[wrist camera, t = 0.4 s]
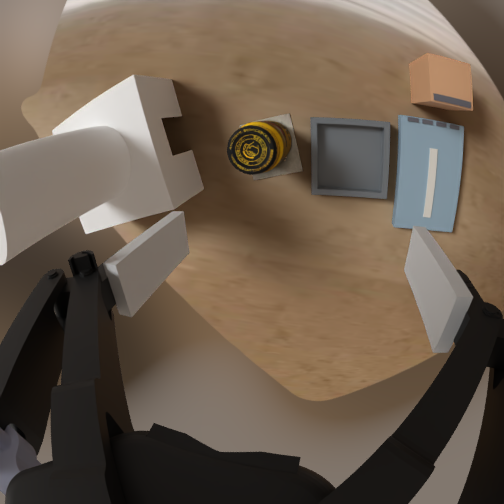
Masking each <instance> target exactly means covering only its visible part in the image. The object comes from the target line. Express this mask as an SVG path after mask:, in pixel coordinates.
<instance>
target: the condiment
mask: <svg viewBox="0 0 504 504" xmlns="http://www.w3.org/2000/svg"><path fill="white" fill-rule="evenodd" d="M227 154H228V157H229V160H230V162H231V163H232V165H233V166H234V167H235V168H236V169H238V170H239V171H241V172H243V173H246V174H250V175H251V174H252V175H253V179H254V180H259V179H263V178H268V177H273V176H279V175H284V174H290V173H296V172H301V171H303V169H302V165H301V160H300V156H299V151H298V147H297V142H296V138H295V134H294V130H293V126H292V122H291V118H290V114H285V115H280V116H275V117H271V118H267V119H262V120H258V121H254V122H250V123H246V124H242V125H240V128H239V129H238V130H237V131H235V132H234V134H233V135H232V136H231V137H230V139H229V142H228V147H227ZM286 157H287V158H286ZM285 159H286V161H284V160H285Z"/></svg>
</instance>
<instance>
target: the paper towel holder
mask: <svg viewBox="0 0 504 504" xmlns="http://www.w3.org/2000/svg"><path fill="white" fill-rule="evenodd" d="M180 116H182V114H181V110H180V107H179V103H178V100H177V96H176V93H175V89H174V86H173V82H172V79H166V78H159V77H151V76H142V75H132V76H130V77H129V78H127V79H125V80H124V81H122V82H120V83H119V84H117V85H115V86H114V87H112V88H110V89H109V90H107V91H106V92H104V93H103V94H101V95H100V96H98V97H97V98H95V99H94V100H92V101H91V102H89V103H88V104H86V105H85V106H84V107H82V108H81V109H79V110H78V111H77V112H75V113H74V114H73V115H71V116H70V117H69V118H67V119H66V120H65V121H63V122H62V123H61V124H60V125H58V126H57V127H56V128H55V129H54V130H52V133H53V135H52V136H48V137H44V138H40V139H36V140H33V141H29V142H26V143H23V144H19V145H16V146H13V147H10V148H7V149H3V150H1V151H0V265H3V264H4V263H6V262H7V261H9V260H10V259H11V258H13V257H14V256H16V255H17V254H19V253H20V252H22V251H23V250H25V249H26V248H28V247H29V246H31V245H33V244H34V243H36V242H37V241H39V240H40V239H42V238H44V237H45V236H47V235H49V234H50V233H52V232H54V231H55V230H57V229H59V228H60V227H62V226H64V225H65V224H67V223H69V222H70V221H72V220H74V219H76V218H78V217H79V218H80V221H81V223H82V226H83V228H84V231H85V233H86V234H88V233H91V232H95V231H98V230H101V229H104V228H108V227H111V226H115V225H118V224H122V223H125V222H129V221H132V220H136V219H140V218H143V217H147V216H151V215H155V214H158V213H162V212H166V211H170V210H174V209H176V208H177V207H178V206H180V205H181V204H183V203H184V202H186V201H187V200H189V199H190V198H192V197H193V196H195V195H196V194H198V193H199V192H201V191H202V190H204V186H203V183H202V180H201V177H200V174H199V170H198V167H197V164H196V161H195V157H194V154H193V151H192V150H190V151H187V152H183V153H180V154H177V155H174V156H173V155H172V152H171V149H170V146H169V142H168V139H167V136H166V132H165V129H164V126H163V122H162V119H161V118H167V117H180Z"/></svg>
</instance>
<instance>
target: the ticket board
mask: <svg viewBox="0 0 504 504" xmlns="http://www.w3.org/2000/svg"><path fill="white" fill-rule="evenodd" d="M463 141H464V126H460V125H455V124H450V123H445V122H440V121H435V120H430V119H424V118H418V117H411V116H404V115H398V159H397V176H396V189H395V200H394V209H393V218H392V224H393V226H394V227H398V228H410V229H413V226H419V227H426V229H427V230H433V231H444V232H452V230H453V225H454V220H455V214H456V208H457V202H458V195H459V187H460V179H461V169H462V158H463Z"/></svg>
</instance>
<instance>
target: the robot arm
mask: <svg viewBox="0 0 504 504" xmlns="http://www.w3.org/2000/svg"><path fill="white" fill-rule="evenodd" d="M188 254H189V246H188V239H187V232H186V224H185V217H184V211H172V212H171V213H170V214H168V215H167V216H165V217H164V218H162V219H161V220H160V221H158V222H157V223H156V224H154V225H153V226H151V227H150V228H149V229H147V230H146V231H145V232H143V233H142V234H140V235H139V236H138V237H136V238H135V239H134V240H132V241H131V242H130V243H128V244H127V245H126V246H125V247H123V248H122V249H121V250H119V251H118V252H116V253H115V254H114V255H112V256H111V257H110V258H109V259H107V260H106V261H105V262H104V263H102V264H101V265H100V266H99V267H97V264H96V260H95V257H94V253H93V252H92V251H89V250H86V251H81V252H79V253H76V254H74V255H72V256H71V257H70V258H69V260H68V261H69V265H70V267H71V270H72V273H73V277H72V278H66V277H65V274H64V271H63V270H62V269H55V270H54V269H53V270H50V271H48V273H46V274H45V275H44V276H43V277H42V279H41V280H40V281H39V283H38V284H37V286H36V287H35V288H34V290H33V292H32V293H31V295H30V296H29V298H28V299H27V301H26V302H25V304H24V305H23V307H22V308H21V310H20V312H19V313H18V315H17V316H16V318H15V320H14V321H13V323H12V325H11V327H10V328H9V330H8V332H7V334H6V335H5V337H4V339H3V341H2V343H1V345H0V491H1V492H2V493H3V494H4V495H5V496H6V498H5V504H408V503H409V502H410V501H411V500H412V498H413V497H414V496H415V495H416V494H417V492H418V491H419V490H420V489H421V487H422V486H423V485H424V483H425V482H426V481H427V479H428V478H429V477H430V475H431V474H432V472H433V470H434V468H435V466H434V463H435V461H436V460H437V458H438V456H439V455H440V453H441V452H442V450H443V449H444V448H445V446H446V444H447V443H448V441H449V440H450V438H451V436H452V435H453V433H454V431H455V430H456V428H457V426H458V424H459V422H460V421H461V419H462V417H463V415H464V413H465V411H466V409H467V407H468V405H469V404H470V402H471V399H472V398H473V395H474V393H475V391H476V389H477V387H478V384H479V382H480V380H481V378H482V375H483V373H484V371H485V368H486V367H490V372H489V381H488V390H487V397H486V404H485V410H484V416H483V421H482V426H481V430H480V435H479V439H478V443H477V447H476V451H475V454H474V458H473V461H472V465H471V468H470V471H469V474H468V477H467V480H466V483H465V486H464V489H463V491H462V494H461V496H460V499H459V501H458V504H504V319H503V315H502V313H501V311H500V310H499V309H498V308H497V307H496V306H494V305H493V304H490V303H487V302H484V301H483V300H482V298H481V297H480V295H479V293H478V292H477V290H476V289H475V287H474V286H473V284H472V283H471V281H470V280H469V278H468V277H467V275H465V274H464V273H463V272H462V271H460V270H456V269H455V268H454V266H453V265H452V263H451V262H450V260H449V259H448V257H447V256H446V254H445V253H444V252H443V250H442V249H441V247H440V246H439V245H438V243H437V242H436V241H435V239H434V238H433V237H432V235H431V234H430V233H429V231H428V230H427V229H426V227H419V226H413V229H412V235H411V240H410V245H409V250H408V255H407V259H406V264H405V268H404V271H405V274H406V276H407V279H408V281H409V284H410V286H411V289H412V291H413V294H414V297H415V299H416V302H417V305H418V308H419V311H420V313H421V316H422V319H423V322H424V325H425V328H426V331H427V335H428V338H429V341H430V344H431V348H432V351H433V353H442V352H449V350H450V348H451V346H452V344H453V342H454V343H455V345H456V346H455V348H454V350H453V351H452V353H451V355H450V356H449V358H448V360H447V362H446V363H445V364H444V366H443V368H442V369H441V371H440V372H439V374H438V375H437V377H436V378H435V380H434V381H433V383H432V384H431V386H430V387H429V389H428V390H427V391H426V393H425V394H424V396H423V397H422V398H421V400H420V401H419V403H418V404H417V405H416V406H415V408H414V409H413V410H412V412H411V413H410V414H409V415H408V417H407V418H406V419H405V420H404V422H403V423H402V424H401V425H400V426H399V428H398V429H397V430H396V431H395V432H394V433H393V434H392V436H390V437H389V438H388V439H387V440H386V441H385V442H384V443H383V444H382V445H381V446H380V447H379V448H378V449H377V450H376V452H375V453H374V454H373V455H372V456H371V457H370V458H369V459H368V460H367V461H366V462H365V463H364V464H363V465H362V466H360V468H358V469H357V470H356V471H355V472H354V473H353V474H352V475H351V476H350V477H349V478H348V479H346V480H345V481H344V482H343V483H342V484H341V485H340V486H338V487H337V488H336V489H335V487H334V486H333V485H332V484H331V483H330V482H328V481H327V480H326V479H325V478H323V477H322V476H321V475H319V474H317V473H316V472H314V471H312V470H309V469H307V468H305V467H302V466H299V462H300V457H295V456H287V455H279V454H272V453H266V452H219V451H216V450H214V449H212V448H210V447H208V446H206V445H205V444H203V443H201V442H199V441H198V440H196V439H194V438H192V437H191V436H189V435H187V434H185V433H182V432H178V431H176V430H172V429H169V428H167V427H164V426H161V425H158V424H155V423H154V424H153V426H152V428H151V429H150V431H134V429H133V426H132V423H131V419H130V415H129V410H128V406H127V401H126V396H125V391H124V386H123V381H122V374H121V368H120V362H119V355H118V348H117V340H116V332H115V323H114V314H113V311H112V309H111V308H112V307H113V306H114V305H115V304H116V306H117V308H118V311H119V314H121V315H125V316H129V317H132V316H133V315H134V314H135V313H136V312H137V311H138V309H139V308H140V307H141V306H142V305H143V303H145V301H146V300H147V299H148V298H149V297H150V296H151V295H152V294H153V292H154V291H155V290H156V289H157V288H158V287H159V286H160V285H161V283H162V282H163V281H164V280H165V279H166V278H167V277H168V276H169V275H170V273H171V272H172V271H173V270H174V269H175V268H176V267H177V266H178V265H179V264H180V263H181V261H182V260H183V259H184V258H185V257H186V256H187V255H188ZM54 311H55V312H54ZM55 313H56V315H55ZM61 370H62V378H61V385H59V386H57V382H58V379H59V376H60V373H61ZM50 409H51V443H52V457H53V461H50V462H47V463H44V464H41V463H40V462H39V461H38V460H37V455H38V452H39V450H40V447H41V444H42V442H43V438H44V434H45V430H46V426H47V421H48V417H49V412H50Z"/></svg>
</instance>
